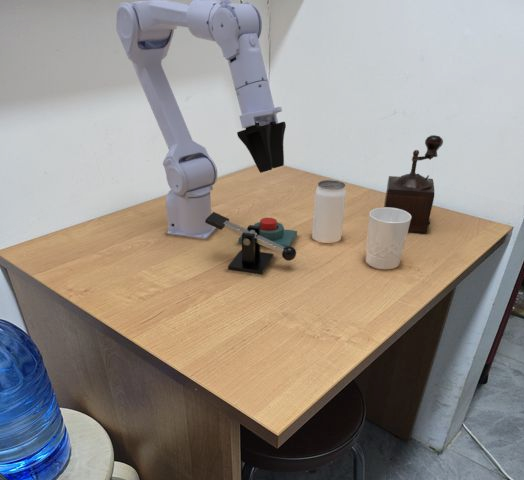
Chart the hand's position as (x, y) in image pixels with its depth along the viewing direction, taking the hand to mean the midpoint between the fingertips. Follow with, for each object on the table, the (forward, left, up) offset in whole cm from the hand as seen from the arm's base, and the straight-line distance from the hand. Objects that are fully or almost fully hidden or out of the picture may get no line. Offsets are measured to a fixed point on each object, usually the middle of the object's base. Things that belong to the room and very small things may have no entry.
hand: (272, 169), depth 87 cm
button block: (-4, +10, -19) cm, 22 cm away
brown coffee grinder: (+24, +32, -19) cm, 45 cm away
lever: (-4, -1, -14) cm, 15 cm away
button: (-4, +10, -16) cm, 19 cm away
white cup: (+21, +7, -19) cm, 29 cm away
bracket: (-4, -2, -19) cm, 19 cm away
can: (+8, +15, -19) cm, 26 cm away
